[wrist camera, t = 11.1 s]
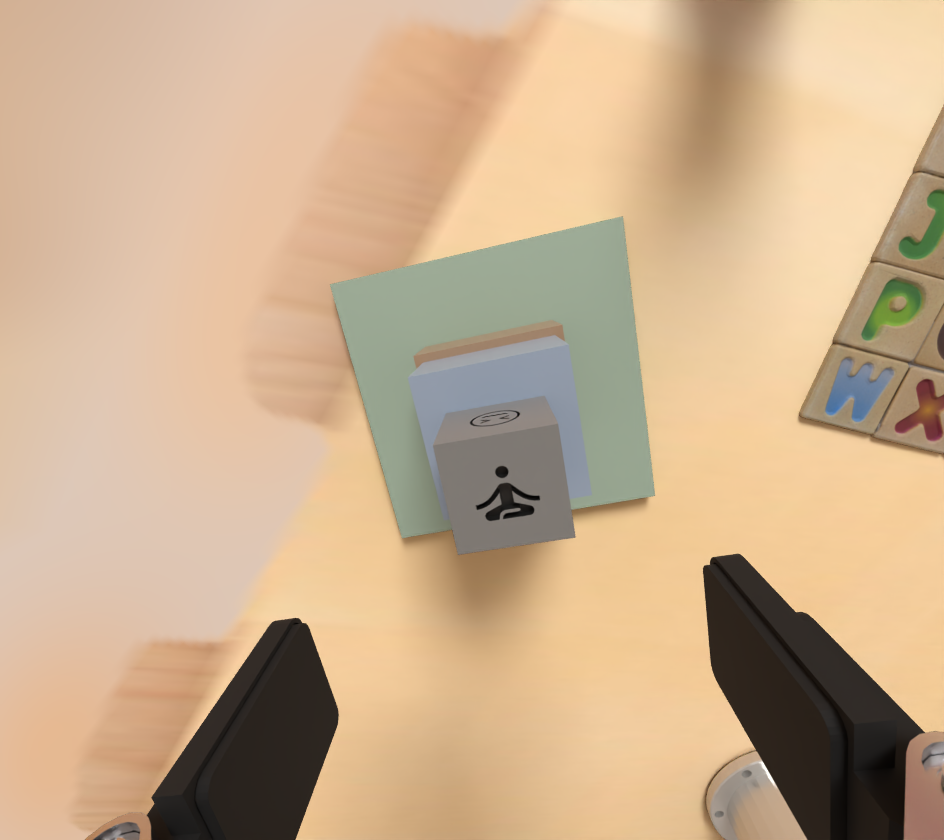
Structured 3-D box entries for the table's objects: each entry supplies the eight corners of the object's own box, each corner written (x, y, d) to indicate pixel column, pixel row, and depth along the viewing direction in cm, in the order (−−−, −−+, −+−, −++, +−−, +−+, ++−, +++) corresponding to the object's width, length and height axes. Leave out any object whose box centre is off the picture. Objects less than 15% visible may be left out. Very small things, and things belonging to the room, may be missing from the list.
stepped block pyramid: (617, 219, 30) (686, 177, 19) (649, 489, 35) (718, 575, 24) (335, 284, 32) (255, 280, 21) (404, 530, 37) (368, 627, 26)
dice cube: (465, 502, 24) (457, 554, 19) (445, 413, 23) (432, 445, 18) (558, 487, 23) (575, 537, 19) (544, 395, 22) (558, 423, 17)
